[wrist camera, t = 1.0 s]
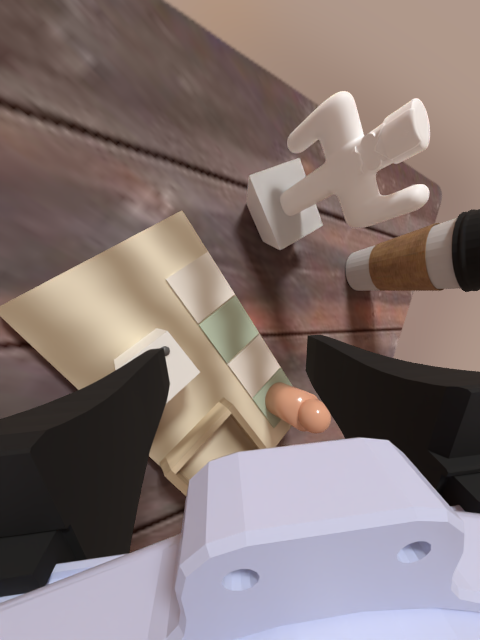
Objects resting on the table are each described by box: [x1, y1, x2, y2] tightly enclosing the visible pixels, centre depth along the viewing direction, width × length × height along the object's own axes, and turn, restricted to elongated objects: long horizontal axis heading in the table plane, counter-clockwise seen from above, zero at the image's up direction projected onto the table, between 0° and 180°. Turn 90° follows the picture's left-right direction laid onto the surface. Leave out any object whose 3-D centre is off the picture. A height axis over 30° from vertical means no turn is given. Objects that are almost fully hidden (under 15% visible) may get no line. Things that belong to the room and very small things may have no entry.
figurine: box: [246, 91, 430, 250], centre depth 20 cm, size 7×9×15 cm
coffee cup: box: [346, 209, 480, 292], centre depth 29 cm, size 8×8×15 cm
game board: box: [0, 211, 292, 496], centre depth 21 cm, size 15×26×3 cm, turn 38°
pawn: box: [265, 382, 331, 433], centre depth 23 cm, size 4×4×7 cm
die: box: [114, 328, 200, 403], centre depth 17 cm, size 4×4×4 cm
